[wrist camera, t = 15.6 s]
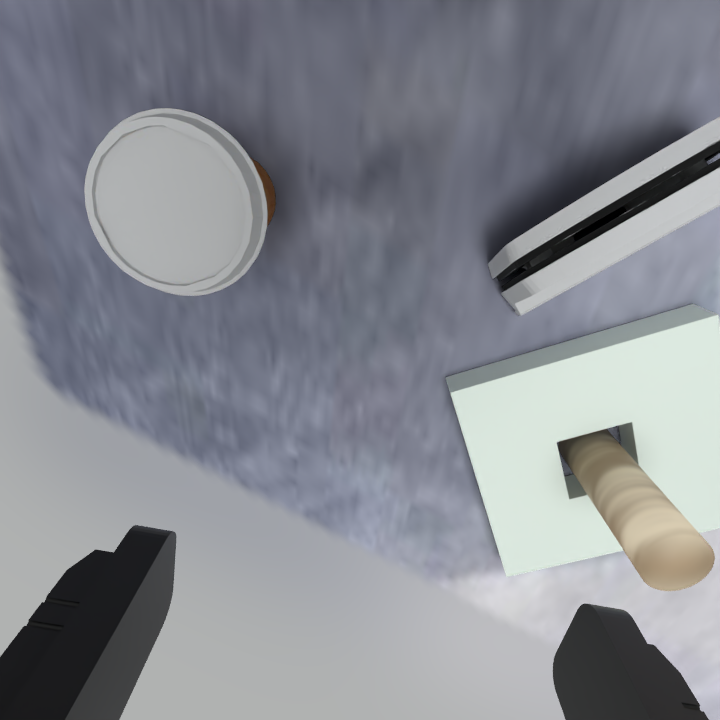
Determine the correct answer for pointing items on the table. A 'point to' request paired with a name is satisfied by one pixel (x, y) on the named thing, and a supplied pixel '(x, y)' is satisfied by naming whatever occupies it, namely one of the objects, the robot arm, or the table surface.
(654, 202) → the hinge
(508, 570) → the collar block
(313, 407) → the table surface
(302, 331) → the table surface
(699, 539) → the birch pin
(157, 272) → the disposable coffee cup
